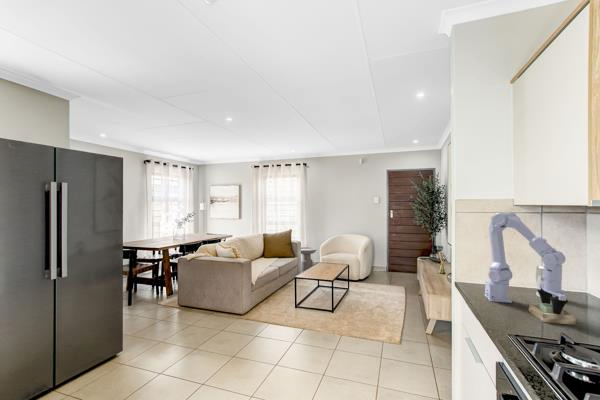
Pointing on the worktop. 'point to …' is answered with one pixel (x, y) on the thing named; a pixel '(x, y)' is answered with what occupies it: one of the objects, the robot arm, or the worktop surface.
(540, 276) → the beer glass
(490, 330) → the worktop surface
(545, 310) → the small crate
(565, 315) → the wooden tray
